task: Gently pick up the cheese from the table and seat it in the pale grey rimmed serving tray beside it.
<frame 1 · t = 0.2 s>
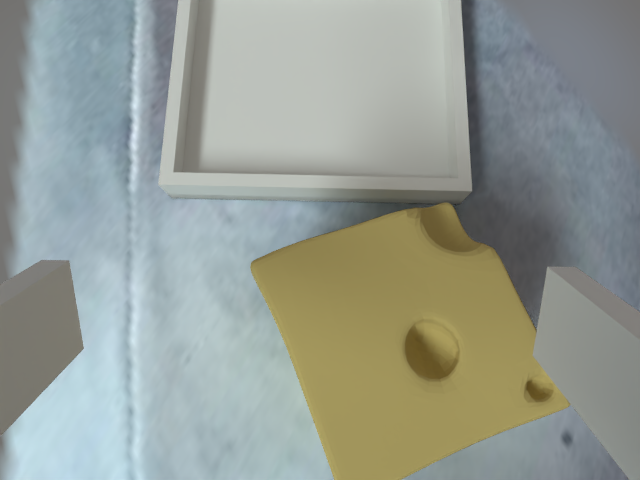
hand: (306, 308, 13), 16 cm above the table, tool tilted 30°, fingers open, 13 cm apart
serving tray: (318, 86, 32), on the table
cheese: (377, 340, 28), on the table
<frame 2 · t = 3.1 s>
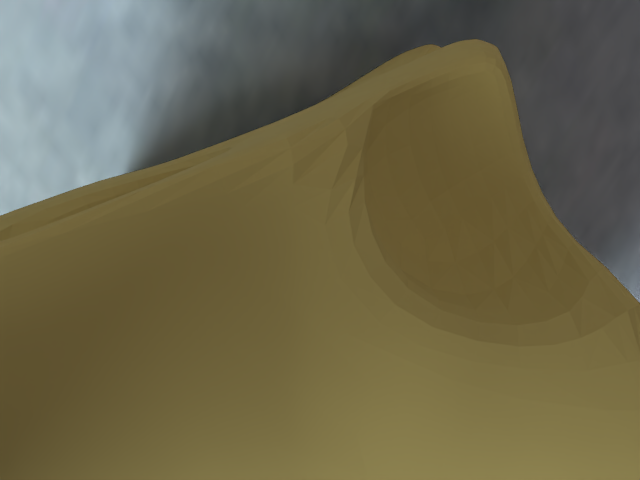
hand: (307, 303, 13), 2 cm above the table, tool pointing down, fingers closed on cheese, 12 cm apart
cheese: (312, 275, 15), on the table, touching gripper
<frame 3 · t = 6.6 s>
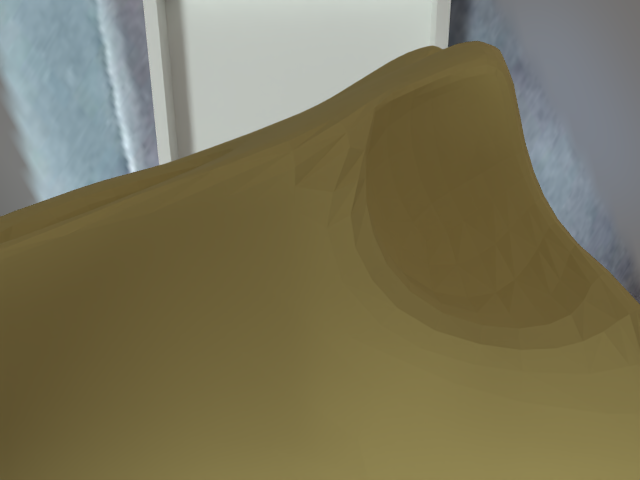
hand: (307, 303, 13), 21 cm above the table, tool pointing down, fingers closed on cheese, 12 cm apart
serving tray: (300, 119, 32), on the table
cheese: (312, 276, 15), point 19 cm above the table, touching gripper
when the fingers open (4 cm above the table, at t = 9.8 s): cheese drops 1 cm, resting on serving tray.
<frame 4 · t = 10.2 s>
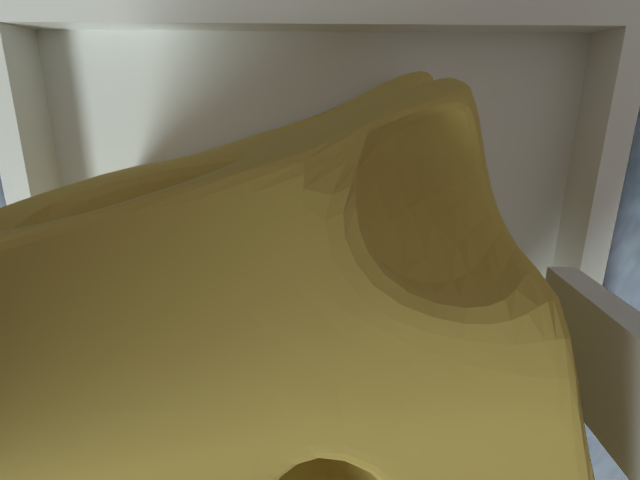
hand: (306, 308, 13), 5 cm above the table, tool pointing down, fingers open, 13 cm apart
serving tray: (312, 254, 17), on the table
cheese: (304, 267, 17), point 1 cm above the table, touching serving tray
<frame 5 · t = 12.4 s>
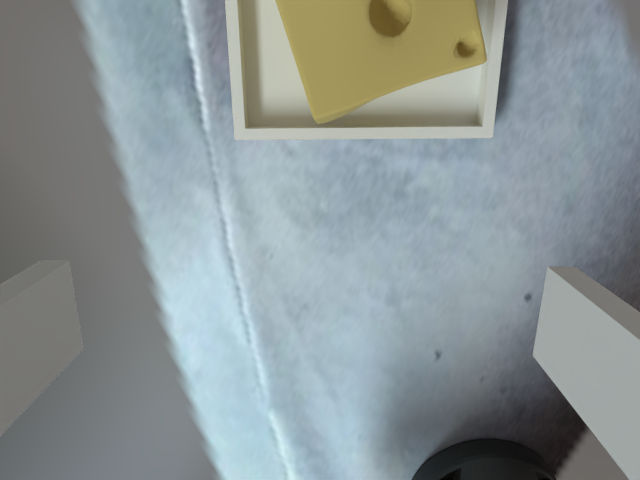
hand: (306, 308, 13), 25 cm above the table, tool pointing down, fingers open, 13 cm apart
serving tray: (362, 16, 33), on the table
cheese: (359, 20, 33), point 1 cm above the table, touching serving tray
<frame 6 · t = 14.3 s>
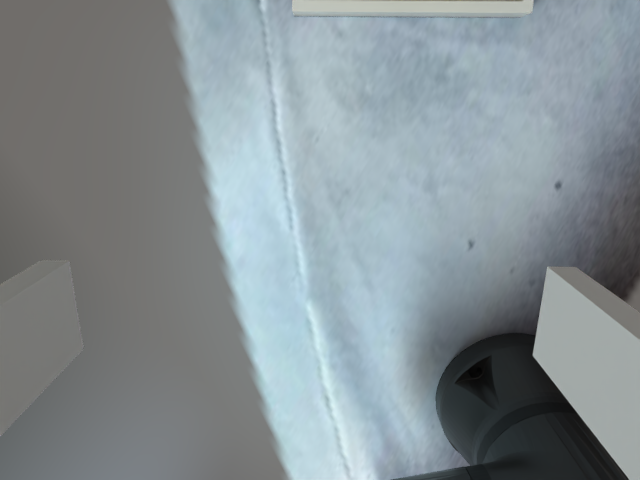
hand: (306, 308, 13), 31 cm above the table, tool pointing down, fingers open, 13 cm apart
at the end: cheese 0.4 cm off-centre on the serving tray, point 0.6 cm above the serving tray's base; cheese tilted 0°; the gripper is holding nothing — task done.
